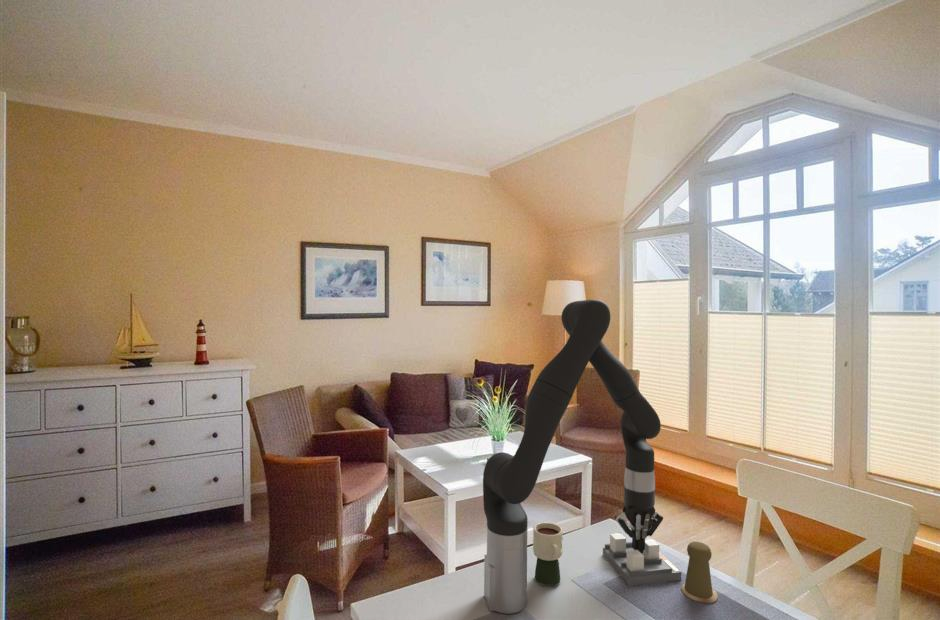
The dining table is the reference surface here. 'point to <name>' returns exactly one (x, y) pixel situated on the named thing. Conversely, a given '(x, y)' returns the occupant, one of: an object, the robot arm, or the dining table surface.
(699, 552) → the pepper shaker
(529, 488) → the robot arm
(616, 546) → the tab back
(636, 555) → the tab front
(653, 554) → the tab middle
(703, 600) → the cork coaster
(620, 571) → the switch panel
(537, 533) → the character mug
